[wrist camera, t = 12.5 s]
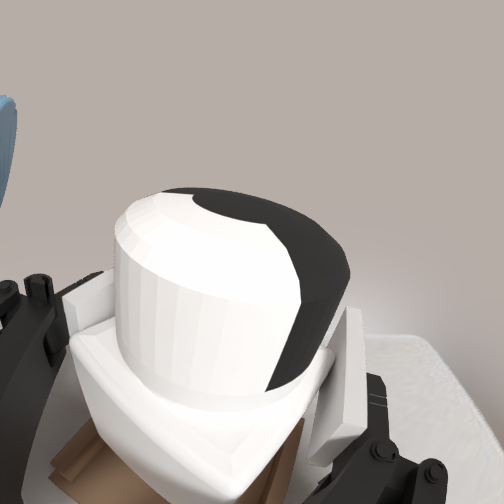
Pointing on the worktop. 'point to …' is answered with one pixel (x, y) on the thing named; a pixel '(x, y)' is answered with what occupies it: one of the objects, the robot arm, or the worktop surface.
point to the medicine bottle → (210, 338)
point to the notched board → (138, 491)
